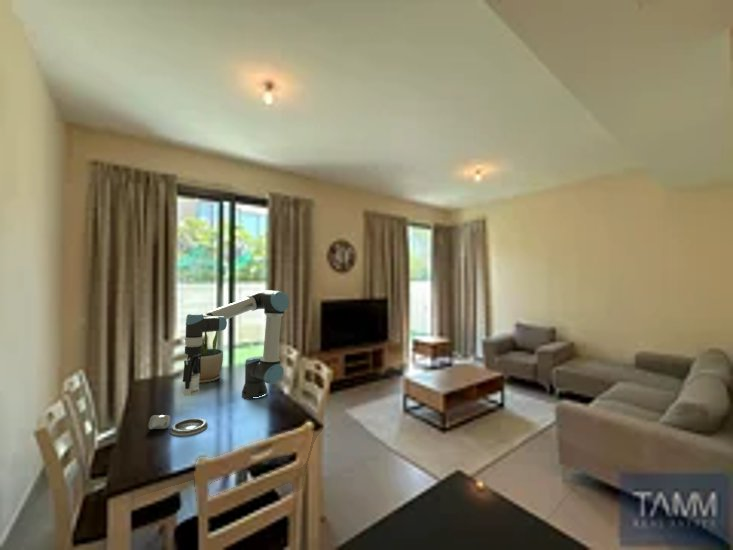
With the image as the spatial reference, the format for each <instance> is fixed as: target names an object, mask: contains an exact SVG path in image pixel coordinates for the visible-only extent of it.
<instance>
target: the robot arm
mask: <svg viewBox="0 0 733 550" xmlns="http://www.w3.org/2000/svg"><path fill="white" fill-rule="evenodd" d="M289 304H290V299H289V296H288V295H287V294H286V293H285V292H283V291H280V290H268V289H266V290H260V291H257V292H254V293H253V294H250V295H247V296H246V298H243V299H241V300H238V301H235V302H232V303H229V304H226V305H224V306H219V307H218V308H215V309H212V310H209V311H206V312H204V313H188V314H187V315H186V318H185V336H184V337H185V338H184V342H185V344H184V345H185V346H184V354H185V355H187V358H186V360H185V359H184V361H183V363H184V364H183V365H184V366H183V373H182V374H183V375H182V382H183V383H184V385H185V395H184V396H192V395H191V385H192V381H191V377H192V372H193V373H200V376H201V355H198V354H200V353H202V346H201V345H202V339H203V336H204V333H205V332H207V333H210V332H211V333H212V332H216V331H218V332H221V331H225V330H226V328H227V324H228V323H227V321H228V320H229V319H231V318H234V317H236V316H239V315H242V314H244V313H246V312H249V311H252V312H253V311H256V310H263V313H264V314H265V316H266V318H265V328H264V331H265V332H264V342H263V352H262V353H263V355H262V356H253V357H248V358H246V360H245V364H244V366H245V367H244V368H245V370H244V372H245V373H244V384H243V387H242V391H241V397H242V398H243V397H245V398H244V399H246V398H253V397H259V396H262V395H264V394H266V393H267V394H268V387H267V384H269V385H273V384H274V385H275V384H277V383H278V382H279V381H280V380H281V379H282V378H283V375H284V367H283V366H282V365H281V358H279V348H280V337H281V324H282V323H281V322H282V317H283V316H284V314H285V311H286V310H287V309H288V308H289Z"/></svg>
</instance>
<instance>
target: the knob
mask: <svg viewBox="0 0 733 550" xmlns="http://www.w3.org/2000/svg"><path fill="white" fill-rule="evenodd" d="M199 377H200V373H192V377H191V381H192V385H191V395H190V396H195V395H198V394H200V391H201V390H200V383H199ZM182 395H184V396H186V395H185V384H184V388H183V391H182Z"/></svg>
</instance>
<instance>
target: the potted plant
mask: <svg viewBox="0 0 733 550" xmlns="http://www.w3.org/2000/svg"><path fill="white" fill-rule="evenodd" d="M207 334H208V332H204V338H202V345H201V346H202V353H200V354H198V355H201V376H200V377H199V384H207V383H206V382H208V383H212V381H213V382H216V381H217V379H218V380H219V379H220V378H221V370H222V365H223V360H224V359H223V358H224V351H223V350H222V349H220V348H217V344H218V343H217V342H218V334H219V331H215V334H214V337H213V340H212V348H208V335H207ZM192 373H193V372H192ZM215 380H216V381H215Z"/></svg>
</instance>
